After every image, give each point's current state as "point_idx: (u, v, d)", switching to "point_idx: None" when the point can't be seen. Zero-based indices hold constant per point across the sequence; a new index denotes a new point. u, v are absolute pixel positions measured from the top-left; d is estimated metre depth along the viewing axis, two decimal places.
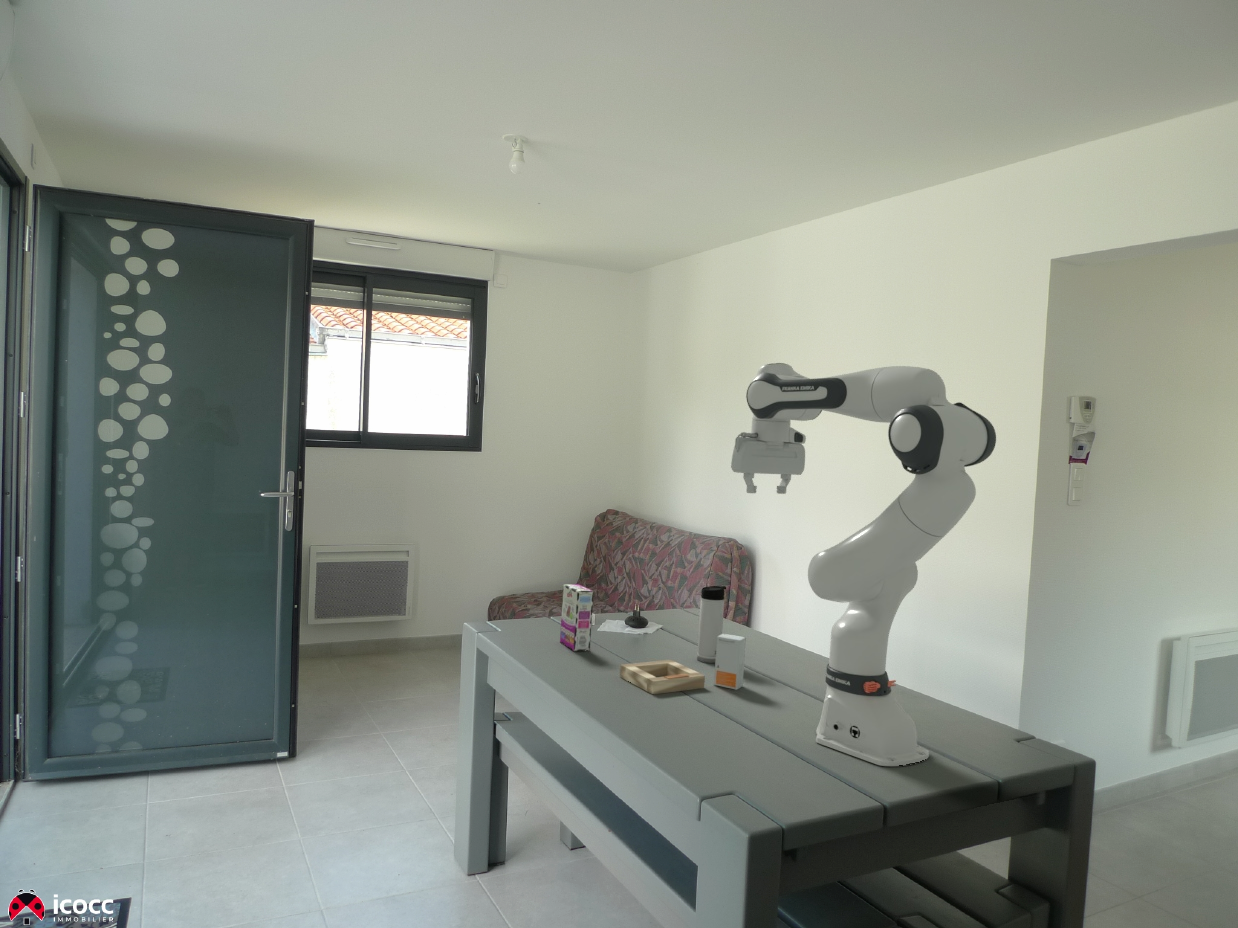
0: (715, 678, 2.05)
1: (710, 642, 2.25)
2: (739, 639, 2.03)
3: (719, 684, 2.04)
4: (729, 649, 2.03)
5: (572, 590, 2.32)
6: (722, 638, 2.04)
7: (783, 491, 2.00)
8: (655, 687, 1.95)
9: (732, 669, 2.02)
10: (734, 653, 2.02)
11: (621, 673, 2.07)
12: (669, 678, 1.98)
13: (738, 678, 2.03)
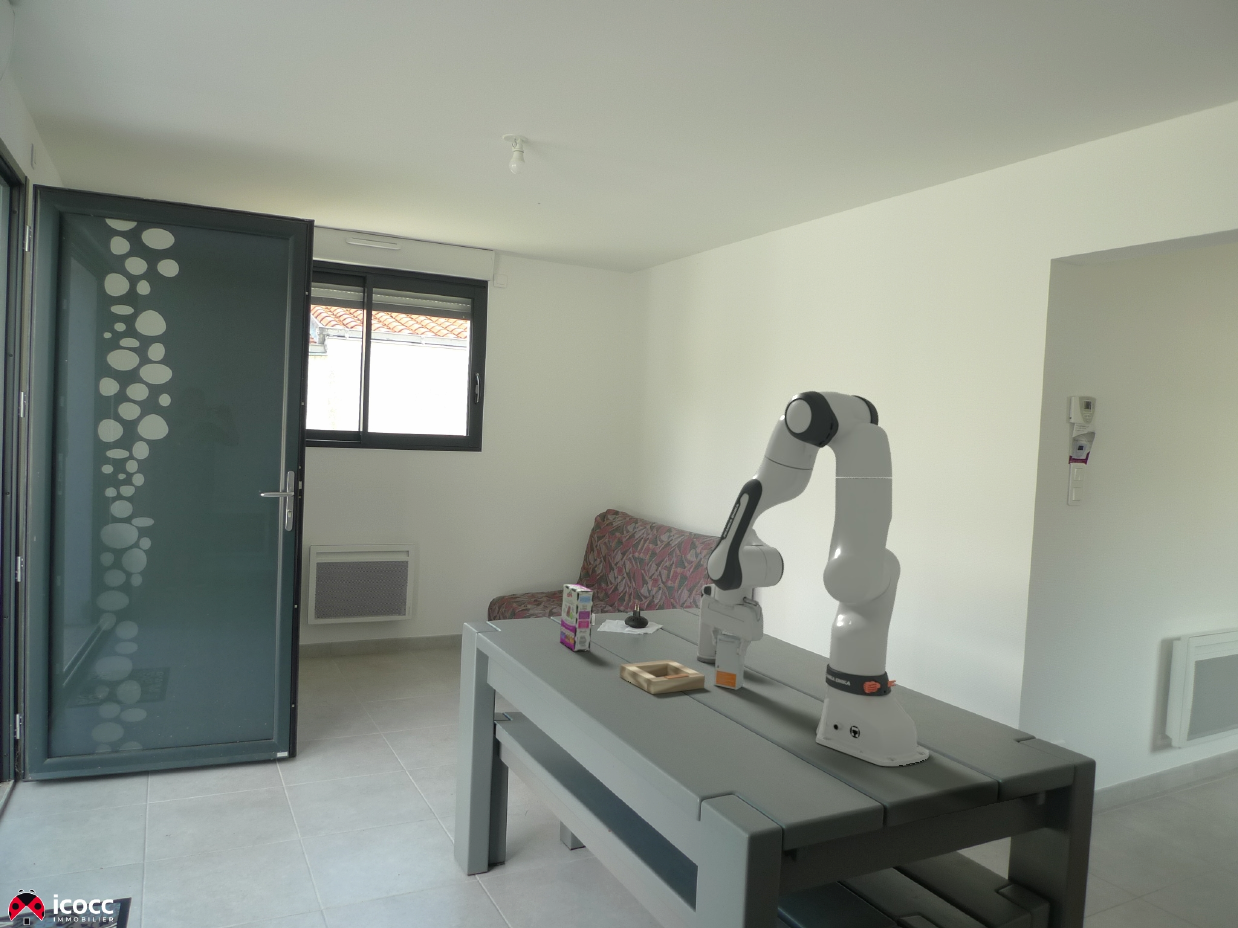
0: (715, 678, 2.05)
1: (710, 642, 2.25)
2: (739, 639, 2.03)
3: (719, 684, 2.04)
4: (729, 649, 2.03)
5: (572, 590, 2.32)
6: (722, 638, 2.04)
7: None
8: (655, 687, 1.95)
9: (732, 669, 2.02)
10: (734, 653, 2.02)
11: (621, 673, 2.07)
12: (669, 678, 1.98)
13: (738, 678, 2.03)
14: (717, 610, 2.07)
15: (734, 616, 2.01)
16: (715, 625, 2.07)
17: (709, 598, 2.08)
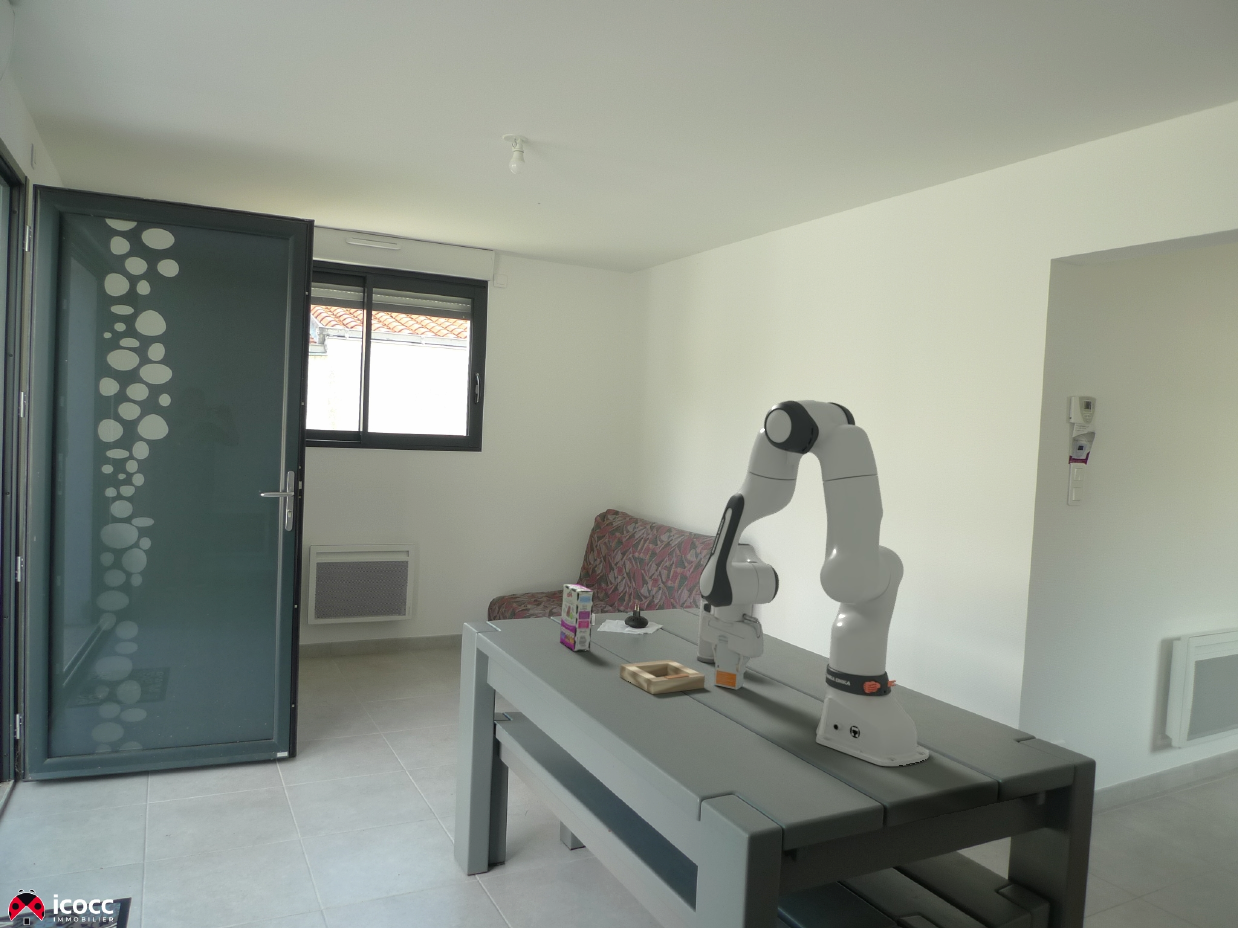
0: (715, 678, 2.05)
1: (710, 642, 2.25)
2: None
3: (719, 684, 2.04)
4: None
5: (572, 590, 2.32)
6: (722, 638, 2.04)
7: None
8: (655, 687, 1.95)
9: (732, 669, 2.02)
10: (734, 653, 2.02)
11: (621, 673, 2.07)
12: (669, 678, 1.98)
13: (738, 678, 2.03)
14: (718, 627, 2.07)
15: (734, 633, 2.01)
16: (715, 642, 2.07)
17: (709, 615, 2.08)
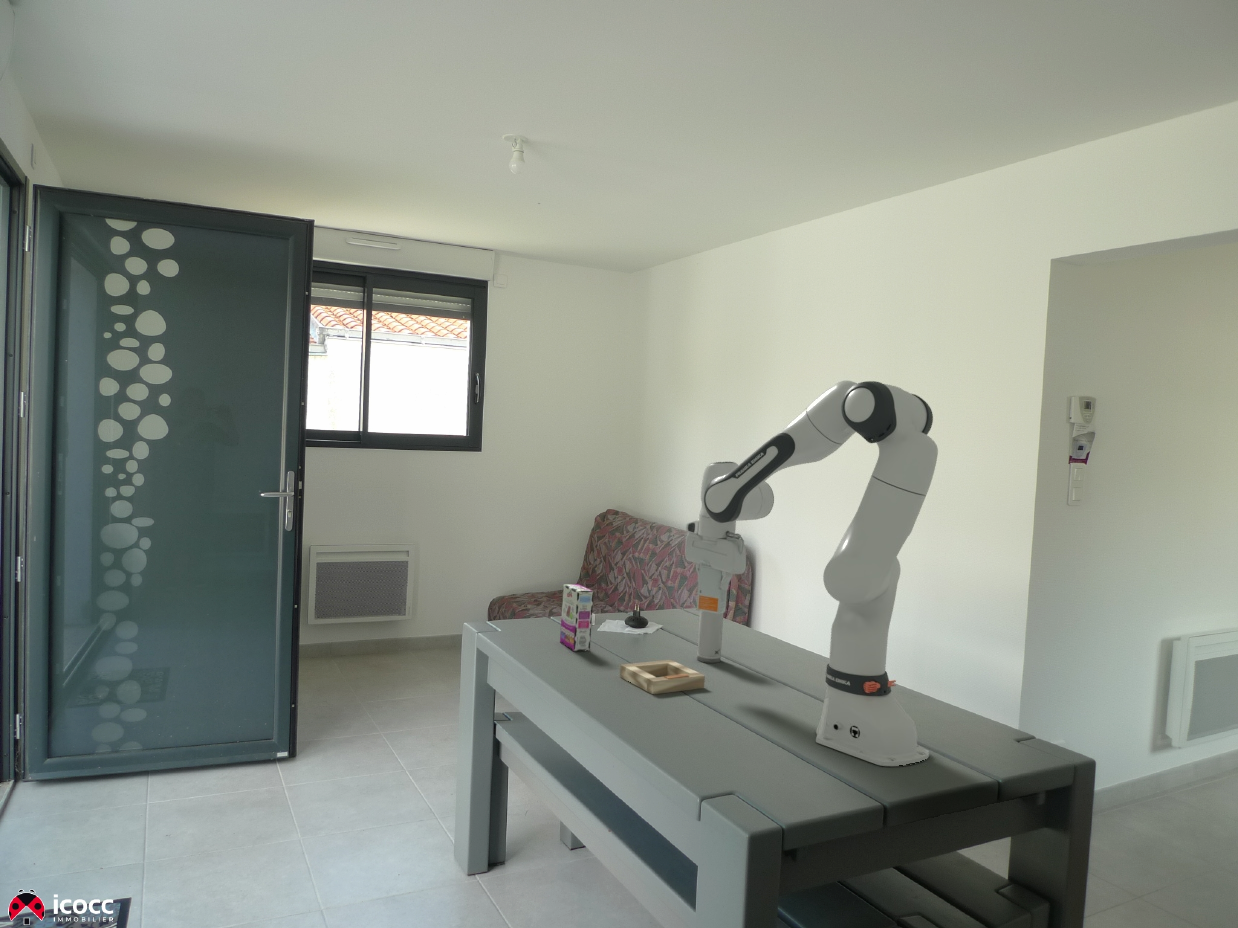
0: (698, 603, 2.04)
1: (710, 642, 2.25)
2: None
3: (701, 609, 2.04)
4: (711, 574, 2.02)
5: (572, 590, 2.32)
6: (705, 563, 2.03)
7: None
8: (655, 687, 1.95)
9: (715, 594, 2.02)
10: (716, 577, 2.02)
11: (621, 673, 2.07)
12: (669, 678, 1.98)
13: (720, 603, 2.02)
14: (701, 546, 2.06)
15: (717, 551, 2.01)
16: (699, 562, 2.07)
17: (693, 535, 2.08)
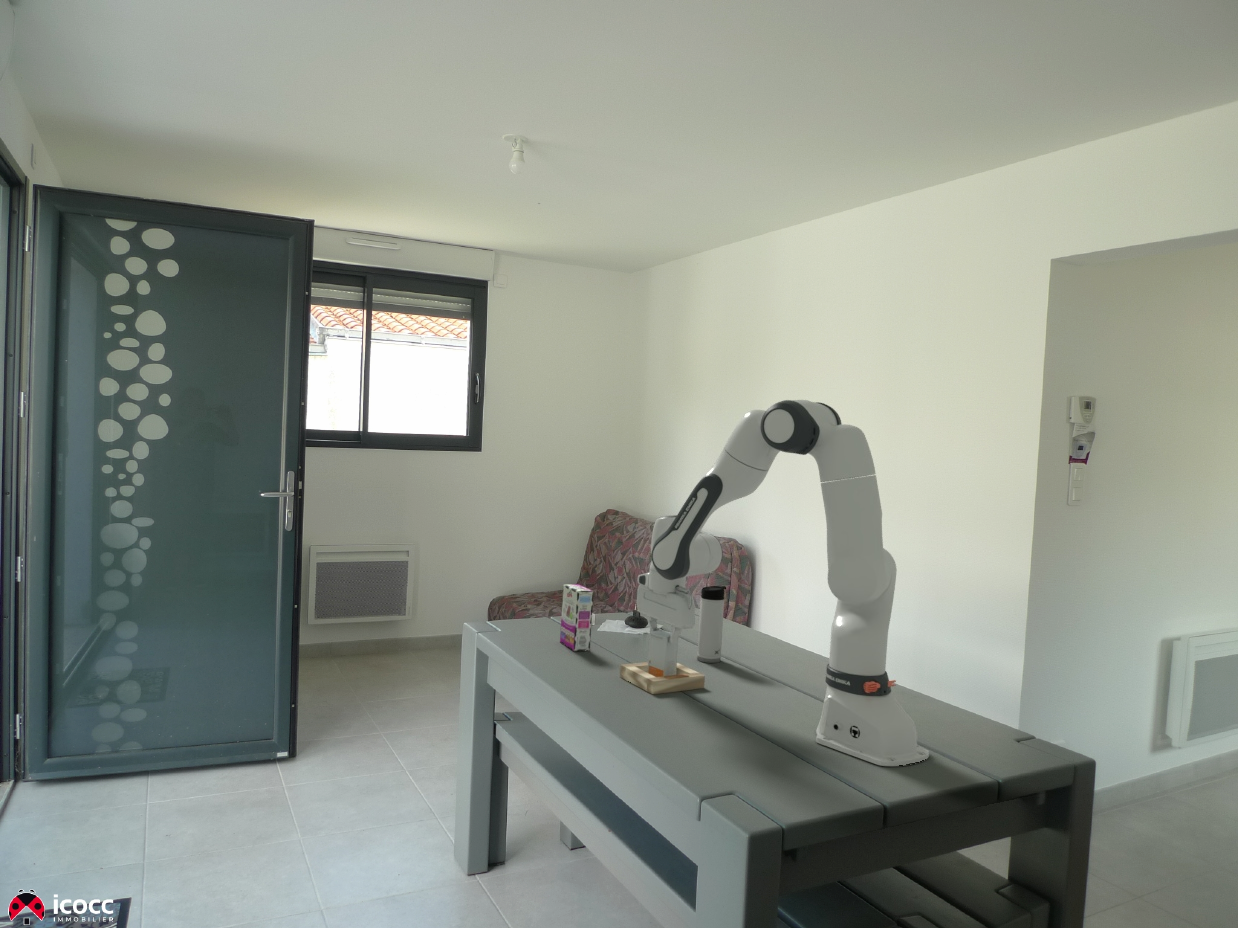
0: None
1: (710, 642, 2.25)
2: (668, 636, 2.02)
3: None
4: (658, 645, 2.03)
5: (572, 590, 2.32)
6: (653, 633, 2.04)
7: None
8: (655, 687, 1.95)
9: (660, 666, 2.02)
10: (662, 649, 2.02)
11: (621, 673, 2.07)
12: (669, 678, 1.98)
13: (667, 675, 2.02)
14: (652, 599, 2.06)
15: (667, 605, 2.01)
16: (650, 614, 2.06)
17: (644, 587, 2.07)
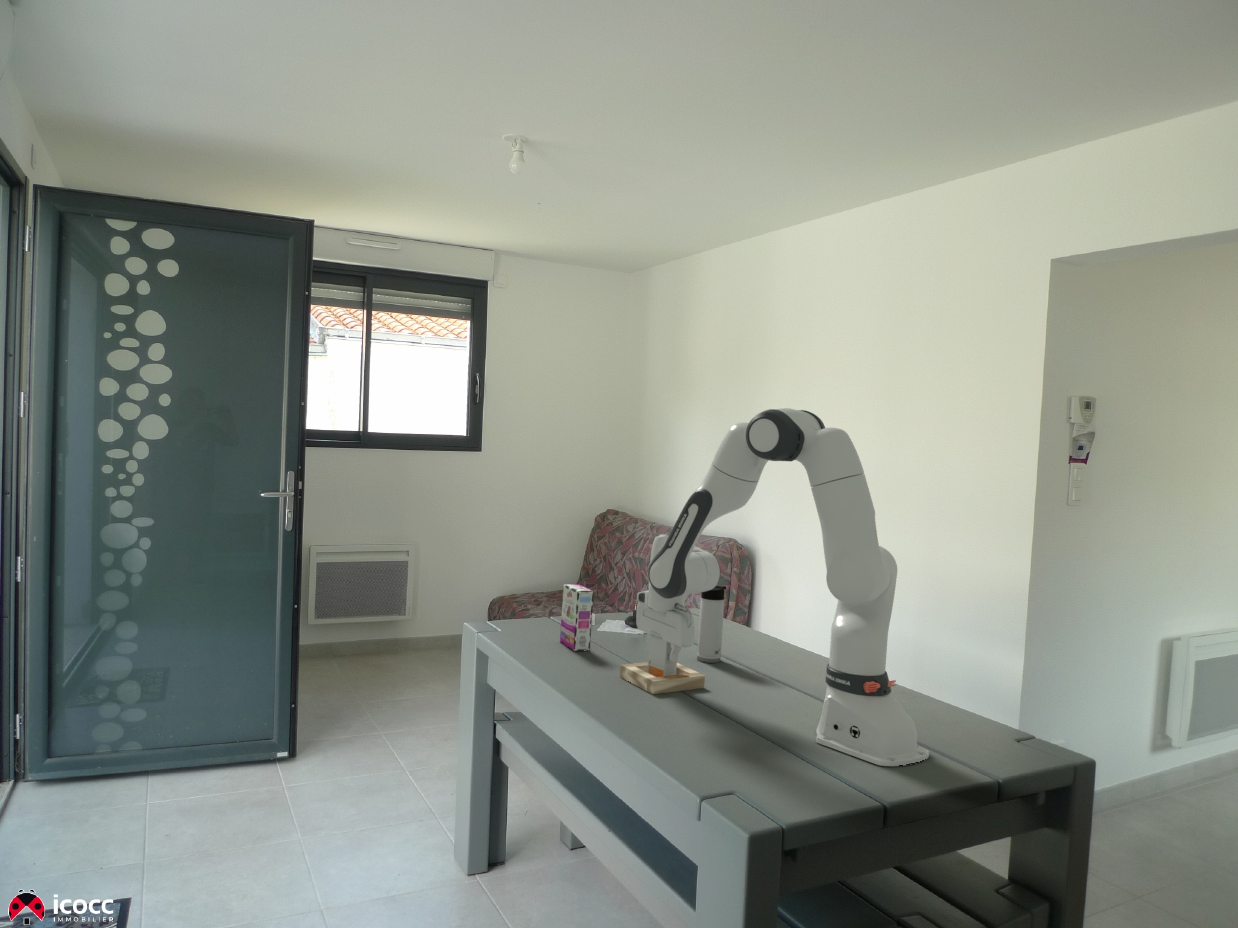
0: None
1: (710, 642, 2.25)
2: None
3: None
4: (658, 645, 2.03)
5: (572, 590, 2.32)
6: (653, 633, 2.04)
7: None
8: (655, 687, 1.95)
9: (660, 666, 2.02)
10: (662, 649, 2.02)
11: (621, 673, 2.07)
12: (669, 678, 1.98)
13: (667, 675, 2.02)
14: (652, 616, 2.06)
15: (666, 623, 2.01)
16: None
17: (643, 605, 2.08)
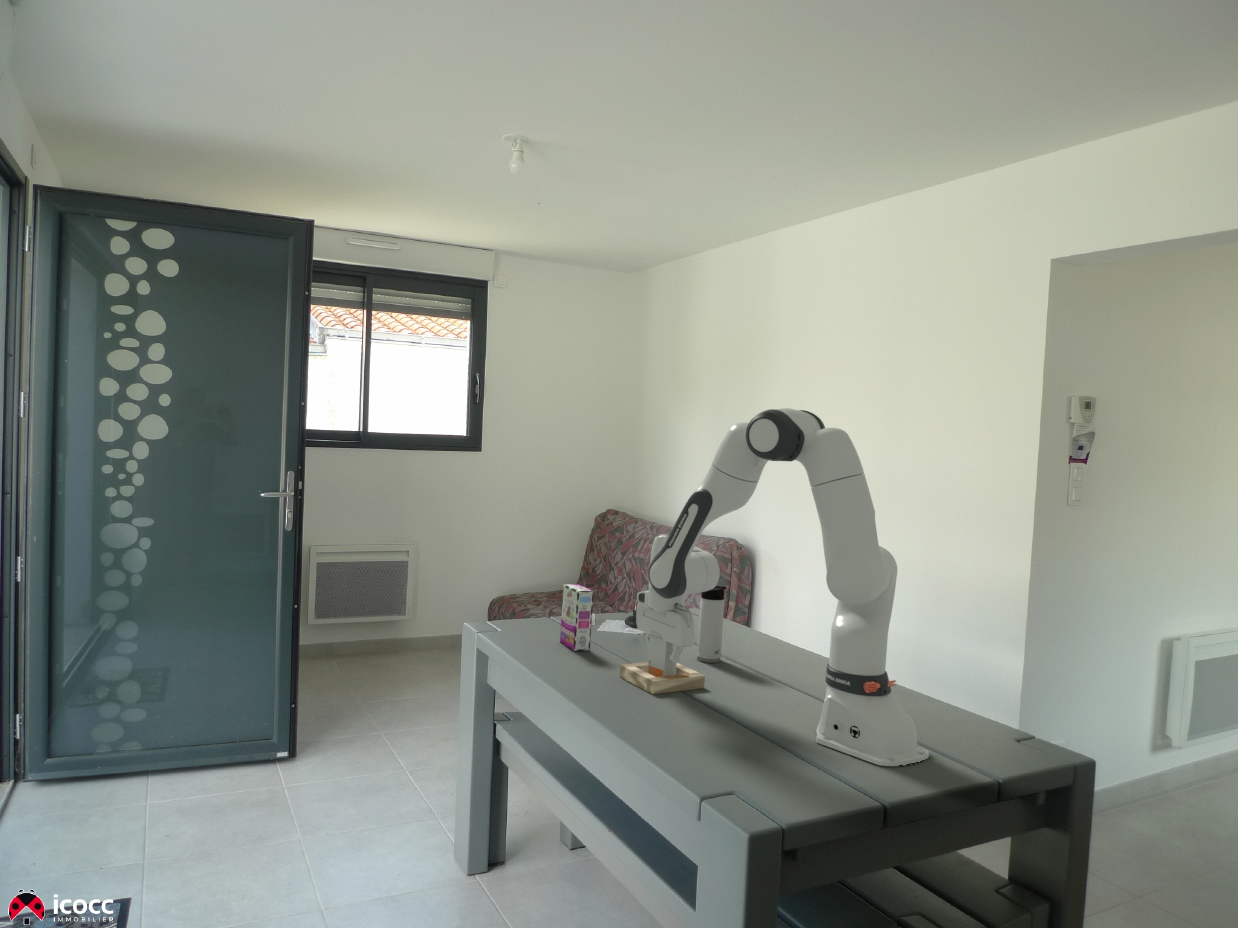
0: None
1: (710, 642, 2.25)
2: None
3: None
4: (658, 645, 2.03)
5: (572, 590, 2.32)
6: (653, 633, 2.04)
7: None
8: (655, 687, 1.95)
9: (660, 666, 2.02)
10: (662, 649, 2.02)
11: (621, 673, 2.07)
12: (669, 678, 1.98)
13: (666, 675, 2.02)
14: (652, 617, 2.07)
15: (666, 623, 2.01)
16: None
17: (643, 605, 2.08)
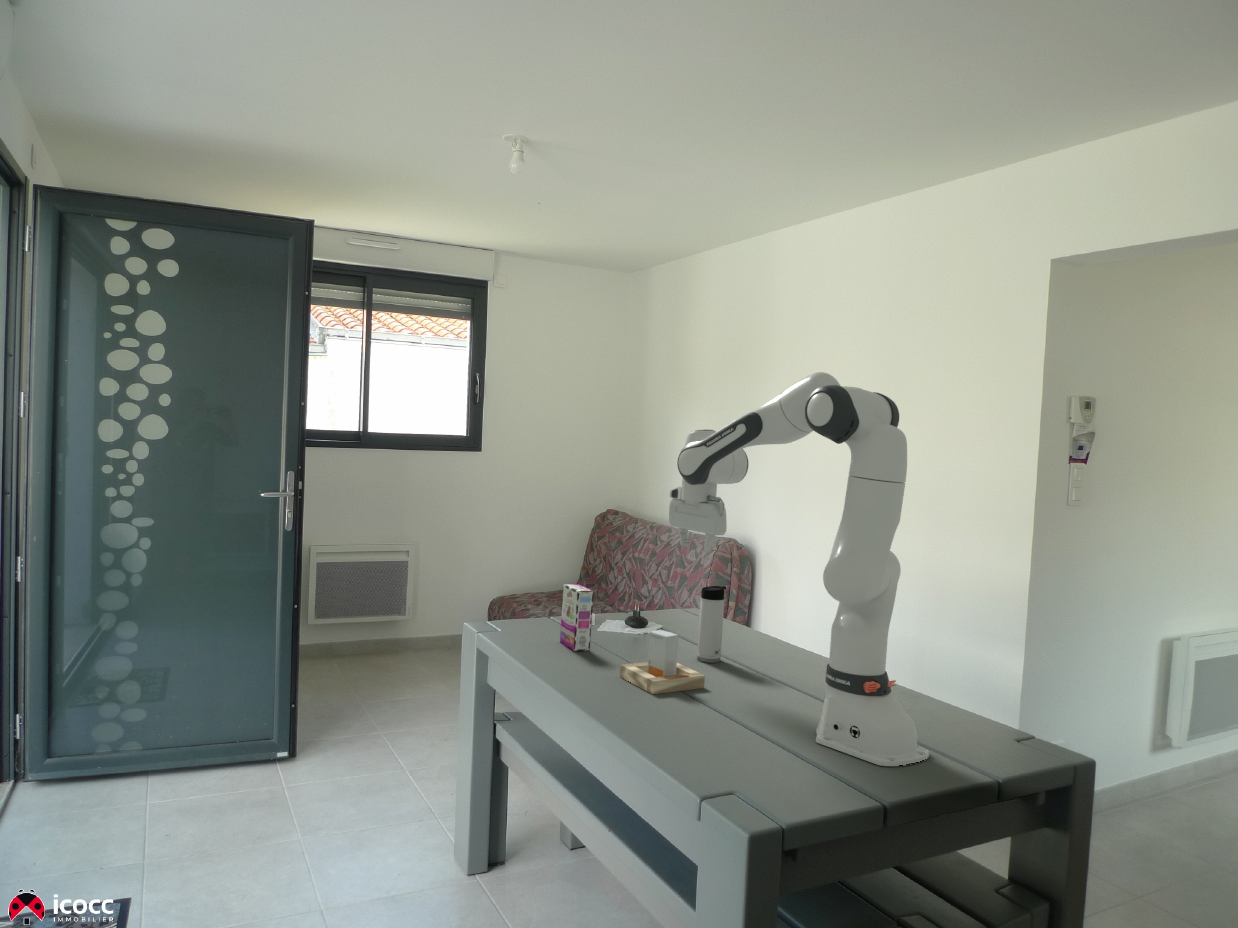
0: None
1: (710, 642, 2.25)
2: (667, 636, 2.02)
3: None
4: (658, 645, 2.03)
5: (572, 590, 2.32)
6: (653, 633, 2.04)
7: None
8: (655, 687, 1.95)
9: (660, 666, 2.02)
10: (662, 649, 2.02)
11: (621, 673, 2.07)
12: (669, 678, 1.98)
13: (666, 675, 2.02)
14: (684, 511, 2.17)
15: (699, 514, 2.12)
16: (682, 526, 2.17)
17: (676, 501, 2.18)
